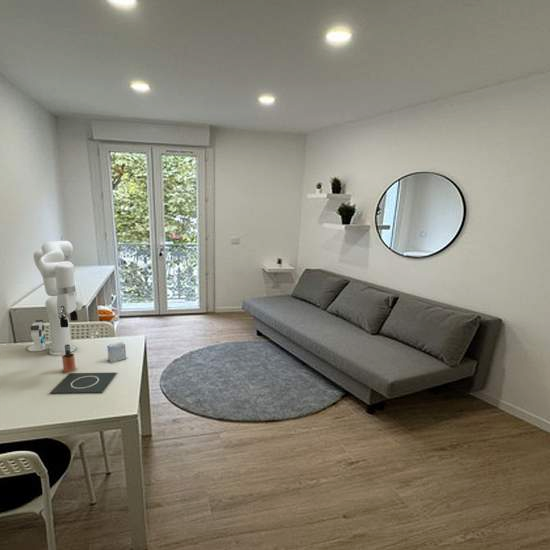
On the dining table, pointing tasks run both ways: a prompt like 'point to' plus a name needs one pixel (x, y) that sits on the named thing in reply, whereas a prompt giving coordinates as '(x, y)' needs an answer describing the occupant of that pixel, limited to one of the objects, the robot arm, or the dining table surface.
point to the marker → (67, 351)
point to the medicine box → (116, 352)
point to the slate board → (83, 383)
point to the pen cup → (68, 363)
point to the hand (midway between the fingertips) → (69, 323)
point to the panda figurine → (38, 336)
